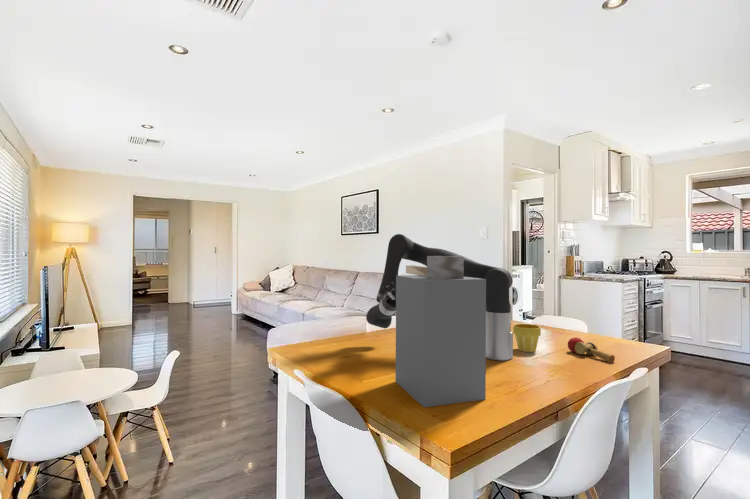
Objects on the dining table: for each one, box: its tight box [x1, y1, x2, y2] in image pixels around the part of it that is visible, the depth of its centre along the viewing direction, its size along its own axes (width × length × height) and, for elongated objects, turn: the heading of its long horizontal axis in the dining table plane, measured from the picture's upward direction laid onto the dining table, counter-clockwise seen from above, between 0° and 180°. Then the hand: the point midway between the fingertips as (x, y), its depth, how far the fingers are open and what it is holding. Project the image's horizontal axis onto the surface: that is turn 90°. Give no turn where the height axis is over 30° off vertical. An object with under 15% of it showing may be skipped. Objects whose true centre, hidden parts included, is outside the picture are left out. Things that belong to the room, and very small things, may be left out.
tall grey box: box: [395, 274, 487, 408], centre depth 109 cm, size 18×20×32 cm
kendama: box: [567, 336, 616, 364], centre depth 146 cm, size 8×6×18 cm
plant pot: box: [512, 323, 542, 353], centre depth 154 cm, size 10×10×10 cm
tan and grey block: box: [405, 255, 465, 279], centre depth 116 cm, size 8×28×6 cm, turn 18°
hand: (404, 284), depth 133 cm, fingers open, 8 cm apart
